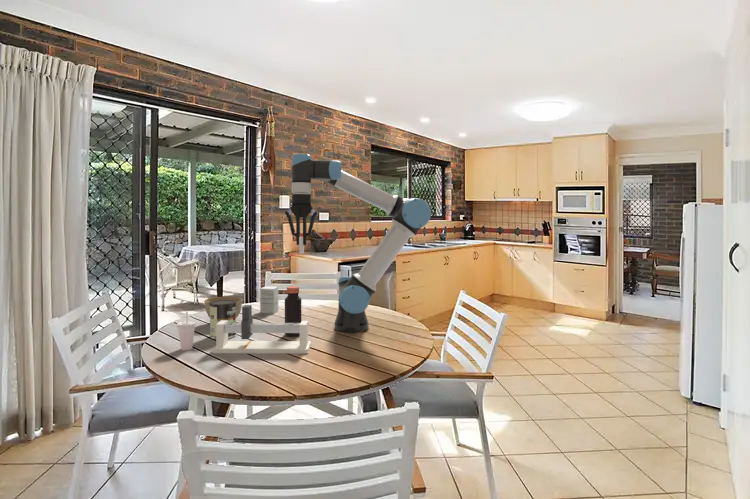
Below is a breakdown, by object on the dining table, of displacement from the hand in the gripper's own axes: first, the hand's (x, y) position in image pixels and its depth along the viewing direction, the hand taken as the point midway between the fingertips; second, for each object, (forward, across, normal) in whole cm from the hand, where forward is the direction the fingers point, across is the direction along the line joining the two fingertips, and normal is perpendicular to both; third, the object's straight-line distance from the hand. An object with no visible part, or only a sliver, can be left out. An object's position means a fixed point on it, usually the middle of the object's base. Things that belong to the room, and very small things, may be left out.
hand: (301, 253), depth 171 cm
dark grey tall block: (+30, +18, +15) cm, 38 cm away
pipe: (+28, +12, +15) cm, 34 cm away
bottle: (+35, +4, -4) cm, 35 cm away
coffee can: (+35, +32, -2) cm, 47 cm away
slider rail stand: (+34, +12, +15) cm, 39 cm away
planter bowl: (+35, +38, -22) cm, 56 cm away
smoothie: (+35, +40, +15) cm, 55 cm away
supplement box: (+35, +22, -46) cm, 62 cm away
